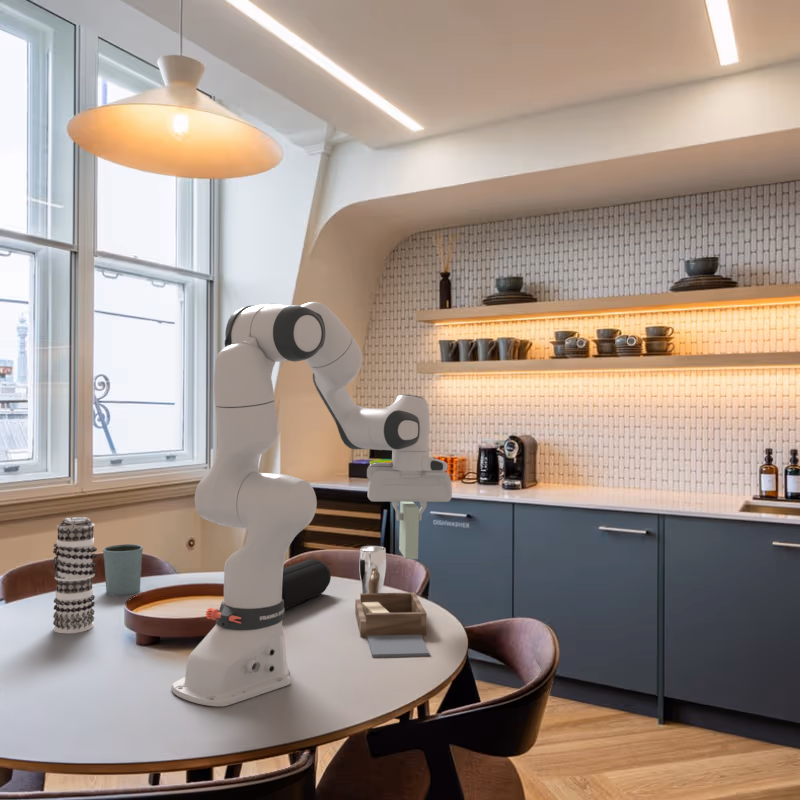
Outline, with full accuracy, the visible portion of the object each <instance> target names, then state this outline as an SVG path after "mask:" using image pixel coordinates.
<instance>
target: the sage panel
mask: <svg viewBox="0 0 800 800" xmlns="http://www.w3.org/2000/svg"><path fill="white" fill-rule="evenodd" d="M419 510H420V506H418V505H417V504H416V503H415V502H399V512H403V520H400V521H399V539H398V541H399V542H398V545H399V546H398V548H399V549H398V550H399V552H400V554H401V555H402V557H403V558H404V559H405V560H418V559H419V529H420V528H419V526H420V525H419V524H420V523H419Z"/></svg>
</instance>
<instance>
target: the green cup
mask: <svg viewBox="0 0 800 800" xmlns="http://www.w3.org/2000/svg"><path fill="white" fill-rule="evenodd" d="M143 550H144V549H143V545H142V544H135V543H133V544H129V543H128V544H127V543H126V544H116V545H110V546H107V547H103V550H102V552H103V561H104V574H105V575H104V578H105V591H106V594H107V595H109V596H116V597H117V596H119V597H121V596H128V595H133V594H137V593H139V592H140V590H141V575H142V561H143V560H142V559H143Z"/></svg>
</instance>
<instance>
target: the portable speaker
mask: <svg viewBox="0 0 800 800" xmlns="http://www.w3.org/2000/svg"><path fill="white" fill-rule="evenodd" d="M331 578H332V576H331V571H330V569H329V567H328V565H327V564H326V563H324V562H323V561H321V560H319V559H314V558H309V559H305V560H302V561H300V562H297V563H293V564H291V565H288V566H285V567H283V580H282V599H283V600H284V610H287V609H289V608H292V607H294V606H297V605H299V604H302V603H303V602H306V601H308V600H310V599H312V598H315V597H317V596H319V595H321V594H323V593H324V592H325V591H326V590H327V588H328V586H329V585H330V583H331Z"/></svg>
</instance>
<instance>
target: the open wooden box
mask: <svg viewBox="0 0 800 800" xmlns="http://www.w3.org/2000/svg"><path fill="white" fill-rule="evenodd" d="M359 595H360V599H359V598H358V599H355V604H354V605H355V609H354V610H355V618H356V623H357V628H358V633H359V635H360V638H367V636H375V635H419V634H420V635H421V637H422V636H427V618H428V617H427V616H428V615H427V612H426V610H425V608H424V607H423V605H422V603H421V601H420V599H419V598H418V595H417V593H416V592H382V593H362V592H361V593H360V594H359ZM362 602H379V603H380V604H381V605H382V606H383V607H384V608H385V609H386V610H387V611H388V612H390V613H366V619H365V615H364V611H363V608H362Z"/></svg>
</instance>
